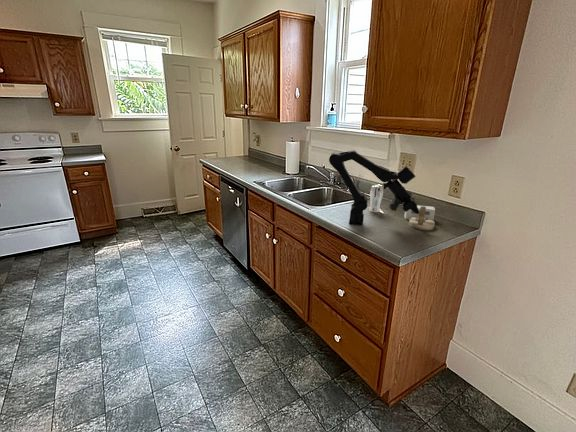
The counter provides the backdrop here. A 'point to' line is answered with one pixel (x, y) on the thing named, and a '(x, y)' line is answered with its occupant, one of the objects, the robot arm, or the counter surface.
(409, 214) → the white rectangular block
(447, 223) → the counter surface
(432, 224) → the cam dial
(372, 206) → the beer glass
